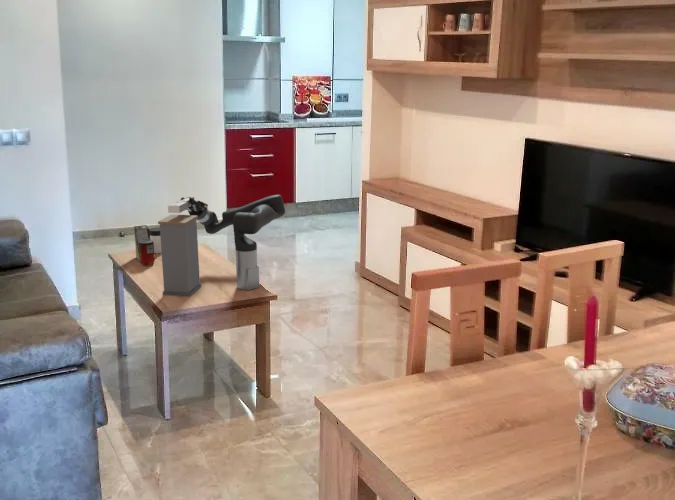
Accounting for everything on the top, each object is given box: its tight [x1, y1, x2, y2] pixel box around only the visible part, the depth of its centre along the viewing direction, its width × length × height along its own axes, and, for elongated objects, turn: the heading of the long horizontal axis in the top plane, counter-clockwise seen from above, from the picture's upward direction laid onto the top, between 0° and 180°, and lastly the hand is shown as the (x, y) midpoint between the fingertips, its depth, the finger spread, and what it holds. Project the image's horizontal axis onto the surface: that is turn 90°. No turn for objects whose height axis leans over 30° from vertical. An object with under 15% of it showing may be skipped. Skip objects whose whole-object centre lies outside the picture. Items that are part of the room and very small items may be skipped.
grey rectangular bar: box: [167, 196, 195, 214], centre depth 307 cm, size 19×5×3 cm, turn 170°
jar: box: [149, 226, 162, 253], centre depth 371 cm, size 9×8×12 cm
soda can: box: [139, 239, 156, 267], centre depth 349 cm, size 7×7×12 cm
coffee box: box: [133, 224, 151, 262], centre depth 358 cm, size 9×6×16 cm
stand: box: [157, 213, 202, 297], centre depth 308 cm, size 14×12×32 cm
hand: (185, 199), depth 311 cm, fingers closed on grey rectangular bar, 3 cm apart
